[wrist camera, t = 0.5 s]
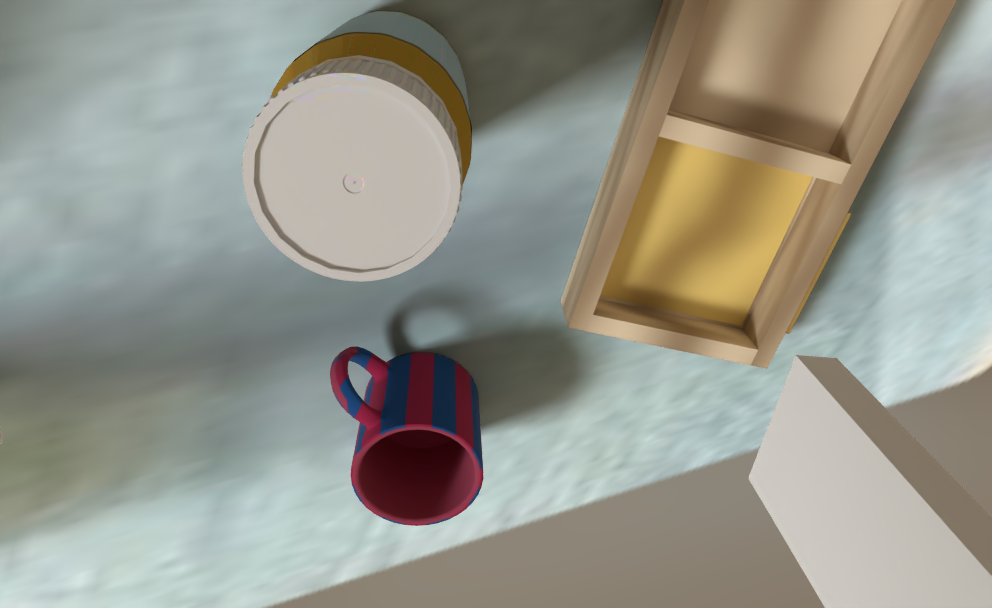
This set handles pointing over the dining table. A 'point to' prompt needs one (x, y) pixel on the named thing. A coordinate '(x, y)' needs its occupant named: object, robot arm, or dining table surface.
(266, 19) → the dining table surface
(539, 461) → the dining table surface
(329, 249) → the bottle
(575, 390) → the dining table surface
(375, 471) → the mug
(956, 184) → the dining table surface
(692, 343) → the caddy
